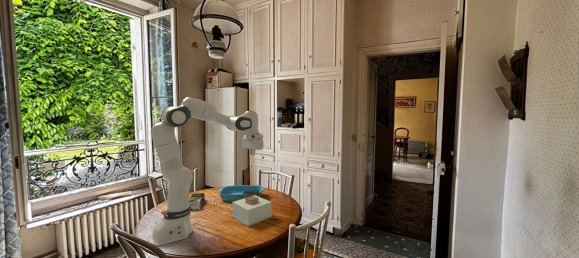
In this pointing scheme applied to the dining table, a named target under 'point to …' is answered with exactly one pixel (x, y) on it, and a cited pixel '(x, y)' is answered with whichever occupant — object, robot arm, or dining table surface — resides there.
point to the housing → (252, 211)
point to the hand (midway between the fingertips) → (252, 155)
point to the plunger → (251, 200)
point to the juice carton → (196, 201)
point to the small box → (250, 193)
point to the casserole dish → (237, 191)
